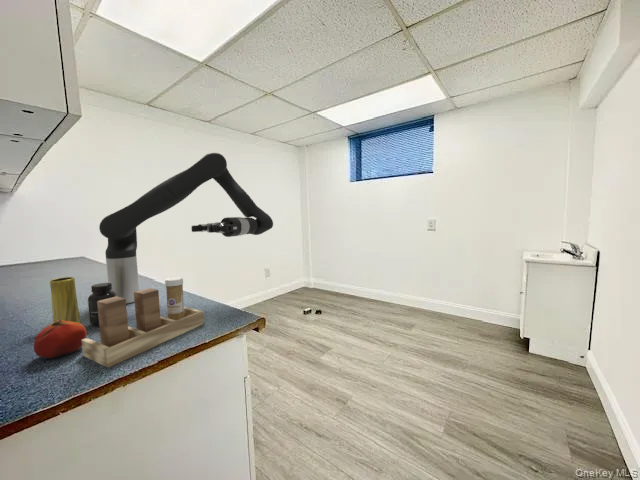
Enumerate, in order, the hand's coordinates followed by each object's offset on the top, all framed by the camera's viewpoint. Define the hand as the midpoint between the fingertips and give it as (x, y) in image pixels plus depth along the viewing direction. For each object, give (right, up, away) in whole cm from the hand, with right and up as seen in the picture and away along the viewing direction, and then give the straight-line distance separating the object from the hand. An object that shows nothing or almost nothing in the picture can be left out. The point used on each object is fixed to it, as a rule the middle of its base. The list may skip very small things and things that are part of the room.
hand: (200, 229), depth 90 cm
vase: (-36, -30, -11) cm, 48 cm away
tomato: (-21, -31, -27) cm, 46 cm away
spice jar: (-2, -29, -12) cm, 31 cm away
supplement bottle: (-26, -30, -9) cm, 40 cm away
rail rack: (-5, -30, -19) cm, 36 cm away
